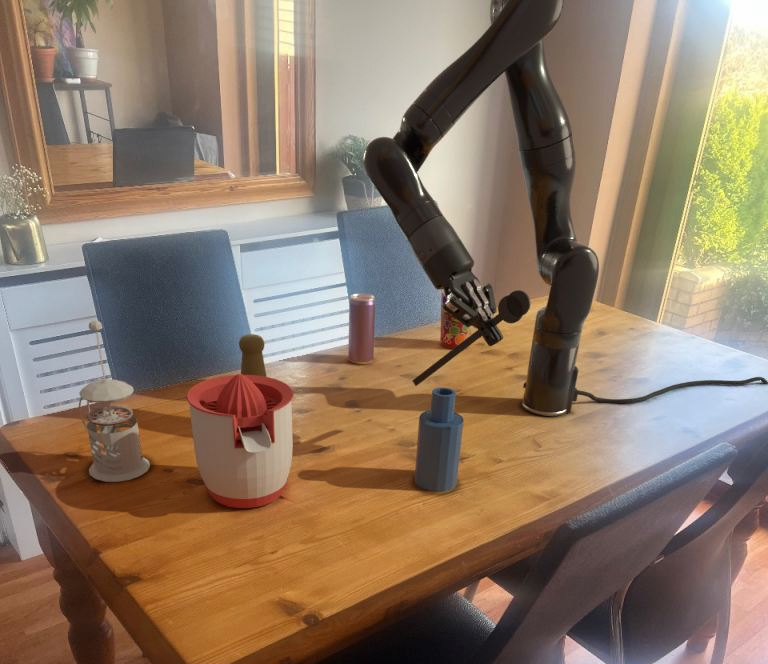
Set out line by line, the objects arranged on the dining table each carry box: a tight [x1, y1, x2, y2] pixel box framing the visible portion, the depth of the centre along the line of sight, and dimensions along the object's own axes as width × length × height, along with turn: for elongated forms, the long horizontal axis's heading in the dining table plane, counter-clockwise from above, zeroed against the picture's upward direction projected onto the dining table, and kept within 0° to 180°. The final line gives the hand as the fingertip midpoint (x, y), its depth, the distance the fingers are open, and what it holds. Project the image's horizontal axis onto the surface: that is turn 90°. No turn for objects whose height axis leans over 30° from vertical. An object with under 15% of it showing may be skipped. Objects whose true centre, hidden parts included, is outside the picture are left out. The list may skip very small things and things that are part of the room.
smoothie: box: [439, 289, 470, 350], centre depth 177 cm, size 8×8×20 cm
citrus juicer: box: [186, 373, 294, 509], centre depth 110 cm, size 16×17×20 cm
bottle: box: [414, 387, 465, 493], centre depth 116 cm, size 7×7×16 cm
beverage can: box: [347, 293, 377, 365], centre depth 166 cm, size 6×6×15 cm
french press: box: [78, 319, 151, 483], centre depth 115 cm, size 10×12×25 cm
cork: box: [238, 333, 268, 377], centre depth 151 cm, size 6×6×11 cm
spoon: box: [412, 289, 531, 387], centre depth 122 cm, size 1×4×28 cm
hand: (496, 342), depth 118 cm, fingers closed on spoon, 1 cm apart
